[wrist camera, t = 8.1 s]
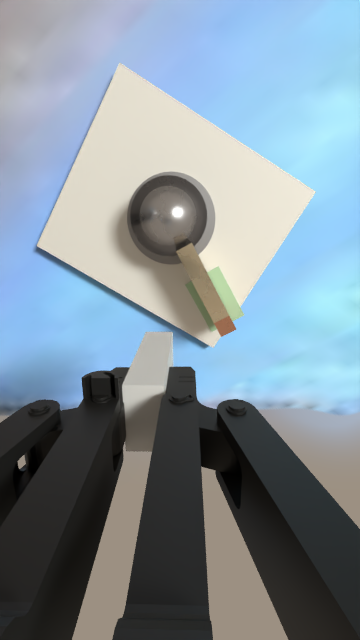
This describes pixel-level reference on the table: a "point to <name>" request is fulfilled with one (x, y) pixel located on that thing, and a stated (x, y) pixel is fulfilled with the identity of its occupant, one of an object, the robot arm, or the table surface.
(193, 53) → the table surface
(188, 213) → the peg dial
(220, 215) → the board
